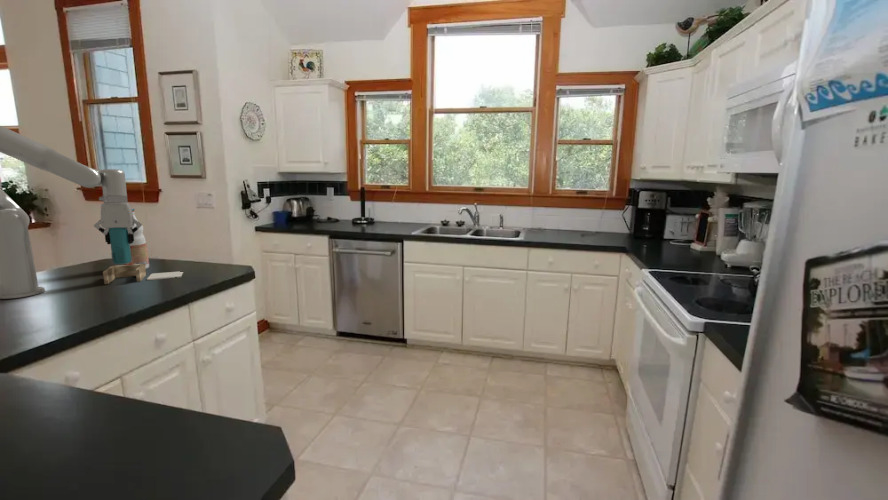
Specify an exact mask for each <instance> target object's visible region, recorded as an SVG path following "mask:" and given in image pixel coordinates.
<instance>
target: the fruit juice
mask: <svg viewBox="0 0 888 500" xmlns="http://www.w3.org/2000/svg"><path fill="white" fill-rule="evenodd" d="M131 209H132V213H133V218H134V219H135V220H137V221H138V222H139V220H138V219H137V217H136V214H135V213H136V209H135V208H131ZM131 227H132V229H134V228H135V227H136V224H135V223H134V226H131ZM144 229H145V228H144V226H143V224H142V226H141V227H140V228H139V229H138V230H137V231H136V232H134V233H133V234H134V241H133V243H131V244H130V247H131V249H130V250H131V255H132V256H131V258H132V261H131V262H130V263H125V264H123V265H135V264H145V267H146V269H148V268H149V267H150V260H149V253H148V247H147V240H146V237H145V235H144ZM128 234H129V232H128Z"/></svg>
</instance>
